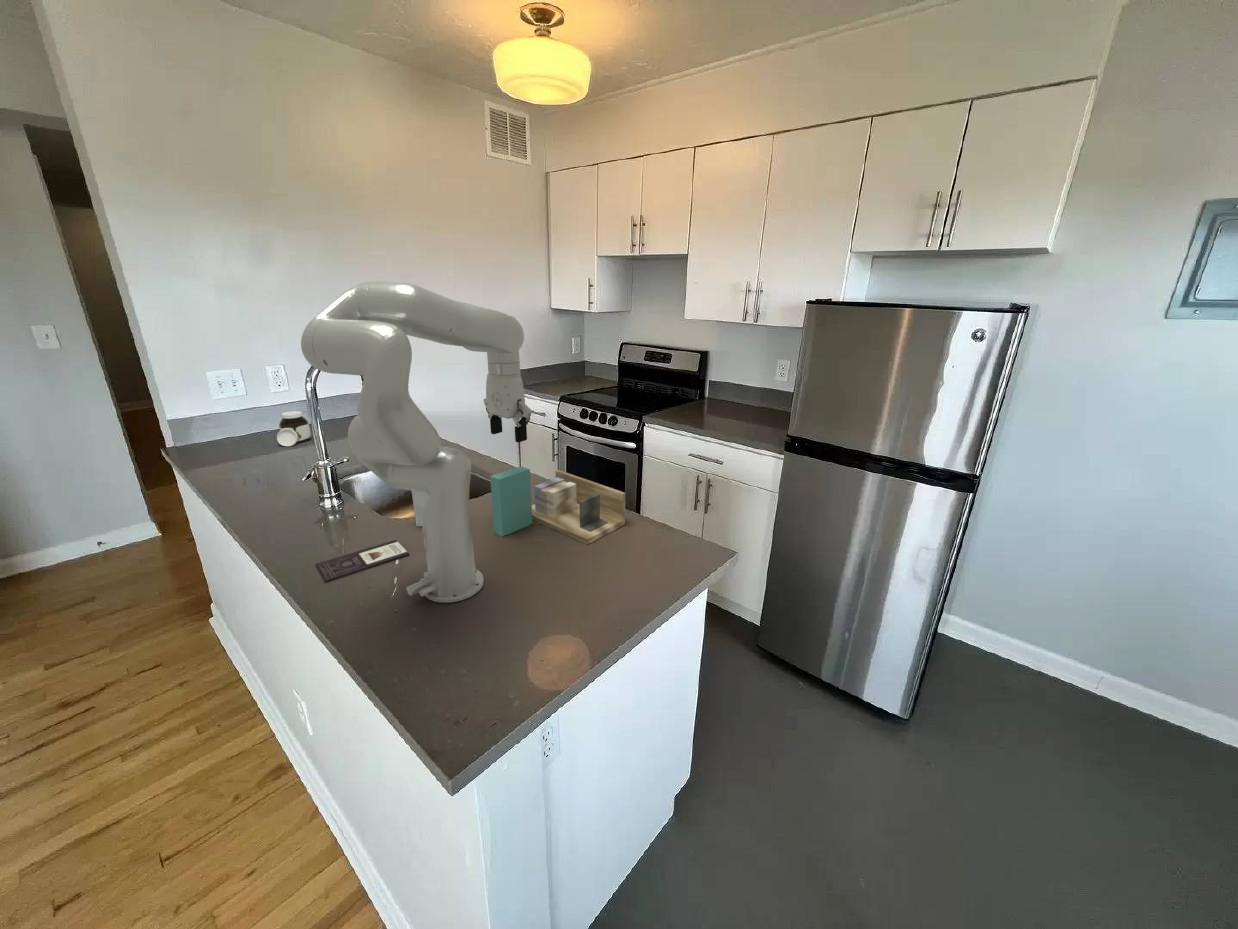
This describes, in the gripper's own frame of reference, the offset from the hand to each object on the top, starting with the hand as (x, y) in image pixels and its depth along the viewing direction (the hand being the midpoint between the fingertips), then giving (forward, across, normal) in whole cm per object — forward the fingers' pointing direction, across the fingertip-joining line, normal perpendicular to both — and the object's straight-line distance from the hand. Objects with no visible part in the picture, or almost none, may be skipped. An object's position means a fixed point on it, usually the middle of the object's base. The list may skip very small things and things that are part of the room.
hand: (508, 437), depth 126 cm
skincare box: (+26, -20, -13) cm, 35 cm away
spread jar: (+26, -123, -12) cm, 126 cm away
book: (+26, 0, -1) cm, 26 cm away
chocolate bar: (+26, -13, -35) cm, 45 cm away
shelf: (+26, +8, +13) cm, 30 cm away
